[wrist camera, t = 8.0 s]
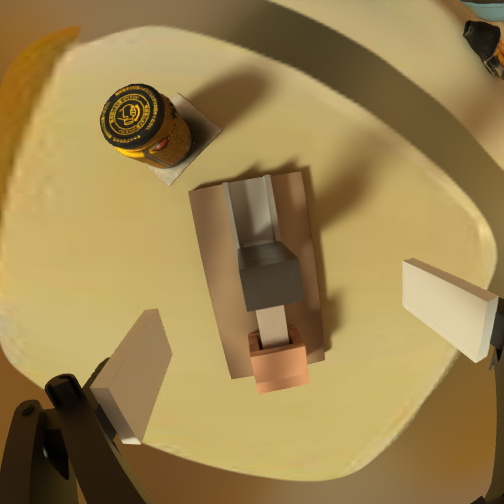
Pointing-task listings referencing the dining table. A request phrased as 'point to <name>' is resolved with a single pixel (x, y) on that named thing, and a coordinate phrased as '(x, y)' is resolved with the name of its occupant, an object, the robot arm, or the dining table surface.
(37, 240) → the dining table surface
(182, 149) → the condiment
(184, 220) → the dining table surface
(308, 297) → the rail slide board
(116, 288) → the dining table surface
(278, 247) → the mallet
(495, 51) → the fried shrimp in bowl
